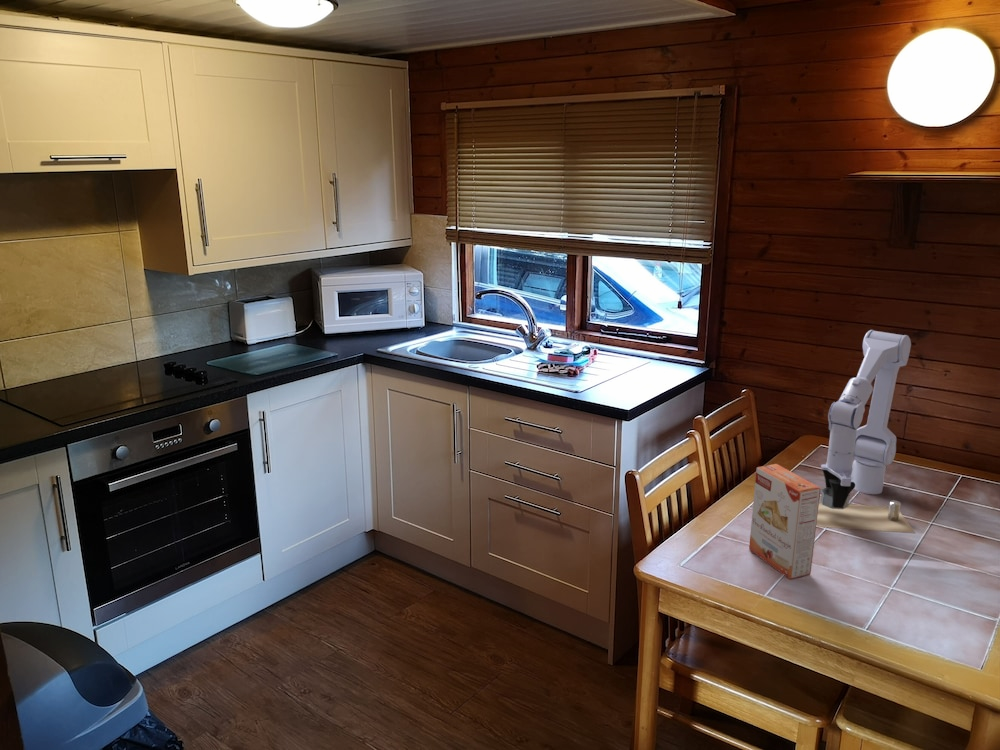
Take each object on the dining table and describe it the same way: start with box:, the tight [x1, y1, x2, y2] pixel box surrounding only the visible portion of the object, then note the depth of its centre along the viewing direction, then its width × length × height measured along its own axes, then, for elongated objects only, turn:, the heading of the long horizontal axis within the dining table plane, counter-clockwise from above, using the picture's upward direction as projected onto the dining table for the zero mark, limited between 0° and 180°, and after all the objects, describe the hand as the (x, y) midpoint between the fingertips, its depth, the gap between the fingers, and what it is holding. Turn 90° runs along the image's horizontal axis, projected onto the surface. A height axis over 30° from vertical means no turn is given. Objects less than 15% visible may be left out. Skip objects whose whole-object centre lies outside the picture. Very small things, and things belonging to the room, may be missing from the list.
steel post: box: [888, 499, 902, 521], centre depth 189 cm, size 3×2×4 cm
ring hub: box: [820, 487, 851, 509], centre depth 191 cm, size 6×6×3 cm
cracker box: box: [748, 463, 822, 580], centre depth 170 cm, size 14×6×21 cm, turn 21°
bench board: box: [816, 501, 916, 534], centre depth 192 cm, size 14×22×1 cm, turn 81°
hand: (834, 501), depth 191 cm, fingers closed on ring hub, 6 cm apart
